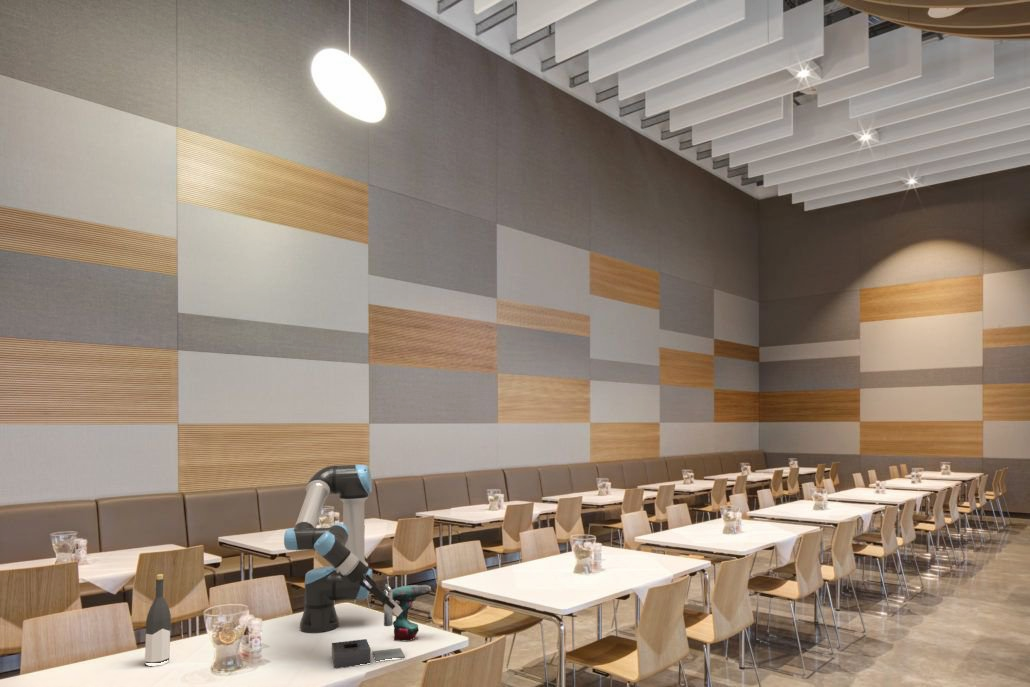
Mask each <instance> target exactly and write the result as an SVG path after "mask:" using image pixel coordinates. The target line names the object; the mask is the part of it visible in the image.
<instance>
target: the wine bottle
mask: <svg viewBox="0 0 1030 687" xmlns="http://www.w3.org/2000/svg"><path fill="white" fill-rule="evenodd" d="M164 580H165V578H164V574H162V573H160V574H157V575H156V579H155V598H154V600H153V602H152V603H151V604H150V605H151V606H150V607H149V611H148V613H147V615H146V620H145V622H146V623H145V654H144V663H145V662H146V663H161V662H164V661H167V660H169V661H170V654H171V652H170V651H171V647H170V646H171V620H172V619H171V618H172V616H171V615H172V614H171V610H170V607H169V604H168V602H167V601H166V599H165V597H164Z"/></svg>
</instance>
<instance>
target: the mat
mask: <svg viewBox="0 0 1030 687" xmlns="http://www.w3.org/2000/svg"><path fill="white" fill-rule="evenodd" d="M371 653H373V654H372V656H373V655H374V656H373V658H374V657H375V659H374V661H375V660H376V661H380V660H385V659H392V658H405V659H406V656H405V654H404V652H403V650H402V648H401V647H398V648H390V649H382V650H372V651H371ZM376 661H375V662H376Z"/></svg>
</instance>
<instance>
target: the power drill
mask: <svg viewBox="0 0 1030 687" xmlns="http://www.w3.org/2000/svg"><path fill="white" fill-rule="evenodd" d="M431 592H432V587H431V586H430V585H427V584H424V585H423V584H422V585H418V584H414V585H413V584H412V585H403V586H398V587H395V588H393V589H392V600H393V601H398V602H399V604H398V605H399V606H400V607H401V609H402V610H403V611H402V612H401V613H400V615H399V616H398V617H397V616H396V615H395V620H393V625H392V626H393V635H394V636H393V641H394V640H410V641H412V640H414V639H415V638H416V637H415V636H417V633H418V632H419V625H418V623H414V622H413V621H410V620H409V619H408V612H409V609H410V608H412V607H413V602H415V601H416V599H417V598H419V597H421V596H425V595H429V594H430V593H431ZM413 638H414V639H413ZM411 639H412V640H411Z"/></svg>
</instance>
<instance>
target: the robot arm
mask: <svg viewBox="0 0 1030 687" xmlns="http://www.w3.org/2000/svg"><path fill="white" fill-rule="evenodd" d="M372 490H373V481H372V473H371V470H370V468H369V466H368V465H366V464H344V465H340V464H339V465H338V464H337V465H336V464H334V465H333V464H332V465H327V466H325V467H322V468H321V469H320V470H318V471H317V472H315V473H314V474H313V476H311V477H310V479H309V481H308V483H307V485H306V487H305V493H306V494H305V498H304V500H303V503H302V506H301V509H300V511H299V514H298V517H297V520H296V522H295V525H294V527H292V528H288V529H286V530H285V532H284V536H283V544H284V548H285V549H286V551H287V550H288V551H306V550H307V551H311V550H314V551H315V552H317V553H318V555H320V556H321V557H322V558H323V559H324V560H325V561H326V562H328V563H329V564H330V565H331V566H330V565H329V566H328V565H327V566H321V567H317V568H314V569H311V570H308V571H307V572H306V573H305V577H304V610H303V612H302V617H301V620H300V623H299V630H300V629H301V630H302V631H301V630H300V631H301V632H303V631H306V632H305V633H311V632H315V633H324V632H323V631H325V632H328V630H329V631H333V630H335V629H337V628H338V627H339V624H340V623H339V622H340V621H339V617H338V614H337V610H336V607H335V601H349V600H352V601H353V600H355V601H357V600H364V599H365V600H366V598H368V597H369V595H370V593H371V594H372V595H373V596H374V597H376V599H378V601H380V602H381V603H382V604H381V606H383V607H384V605H385V606H387V607H388V608H389V609H390V610H391V611H392V612H393V614H394V615H395V617H396V616H397V617H398V616H399V615H400V613H401V612H402V611H403V610H402V609H401V607H400V606H399V604H398V602H396V601H395V600H391V599H390V598H389V597H387V596H386V595H385V594H384V590H383V589H382V588H381V587H380V586H378V585H377V583H376V582H375V580H374V579H373V569H372V568H369V564H368V562H367V561H366V560H365V557H366V556H365V552H366V551H365V544H366V542H365V502H366V500H368V498H369V494H371V493H372V492H373V491H372ZM330 495H339V497H338V498H339V500H340V501H341V502H342V505H343V507H342V508H343V509H342V517H343V518H342V522H343V523H338V522H337V523H334V524H333V525H331V526H330V527H317V526H318V522H319V519H320V517H321V513H322V510H323V507H324V504H325V502H326V499H327V498H328V497H329V496H330ZM332 629H333V630H332Z"/></svg>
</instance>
